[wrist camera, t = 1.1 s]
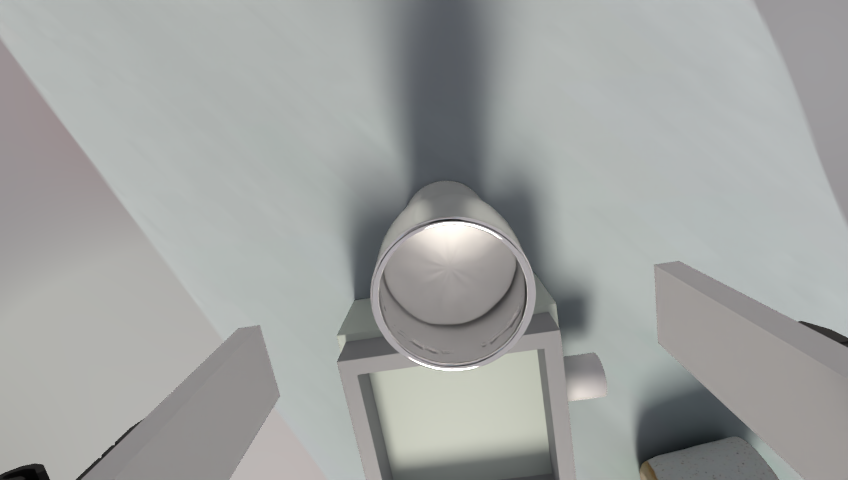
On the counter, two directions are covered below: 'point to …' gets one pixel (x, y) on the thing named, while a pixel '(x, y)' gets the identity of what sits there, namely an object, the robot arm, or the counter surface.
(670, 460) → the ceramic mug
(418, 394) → the grey box with knob
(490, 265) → the beer glass
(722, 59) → the counter surface
